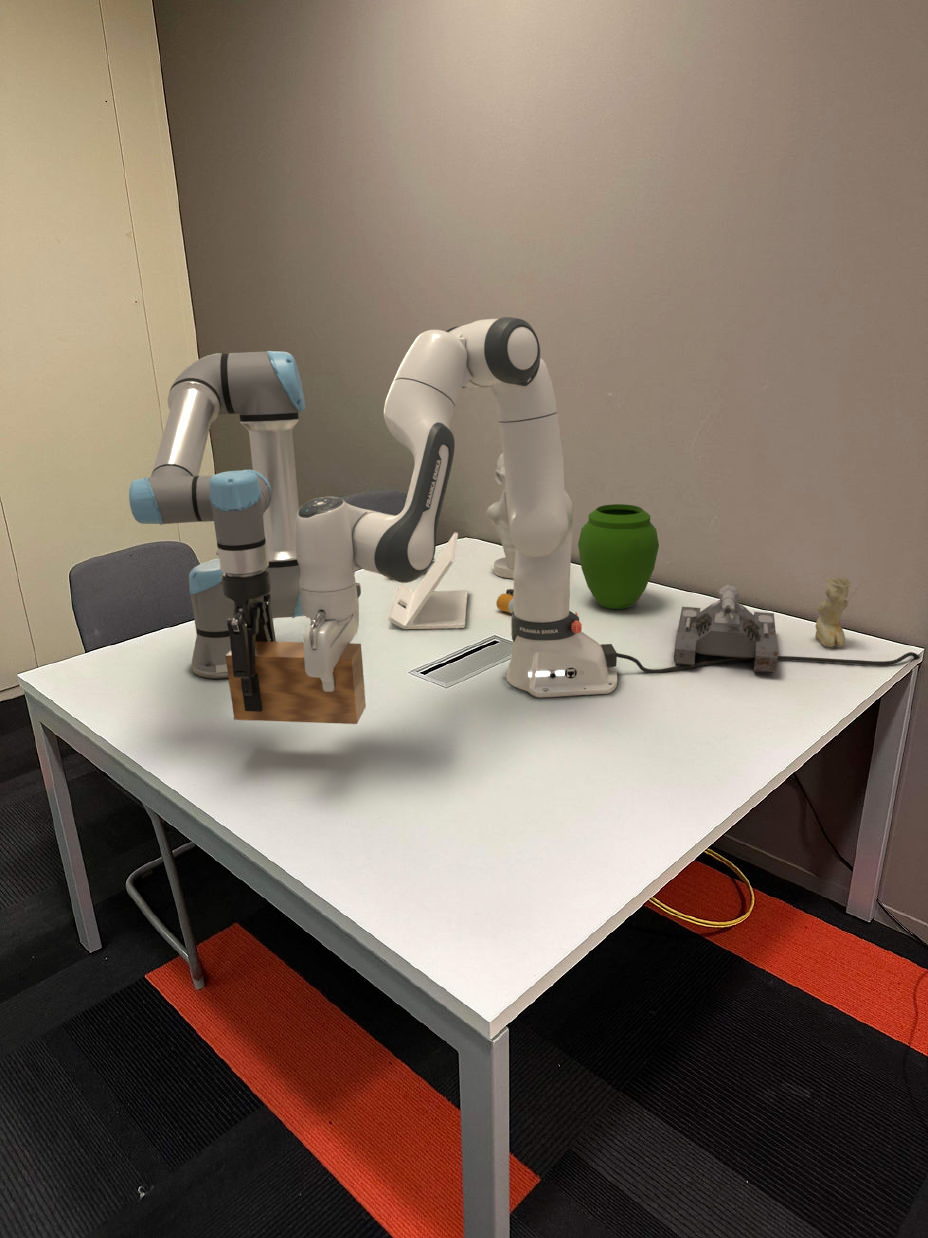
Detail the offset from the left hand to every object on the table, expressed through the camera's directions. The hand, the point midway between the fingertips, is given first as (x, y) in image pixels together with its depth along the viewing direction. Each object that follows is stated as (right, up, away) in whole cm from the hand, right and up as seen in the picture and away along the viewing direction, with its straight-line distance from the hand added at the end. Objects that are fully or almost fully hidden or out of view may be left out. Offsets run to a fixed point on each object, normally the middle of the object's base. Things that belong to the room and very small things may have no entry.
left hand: (261, 700), depth 144 cm
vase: (+72, +17, +70) cm, 102 cm away
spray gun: (+50, +17, +71) cm, 88 cm away
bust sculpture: (+51, +26, +95) cm, 111 cm away
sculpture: (+114, +8, +43) cm, 122 cm away
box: (+7, -2, 0) cm, 7 cm away
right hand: (+13, +4, -3) cm, 14 cm away
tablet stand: (+26, +16, +70) cm, 76 cm away
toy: (+91, +7, +41) cm, 100 cm away
